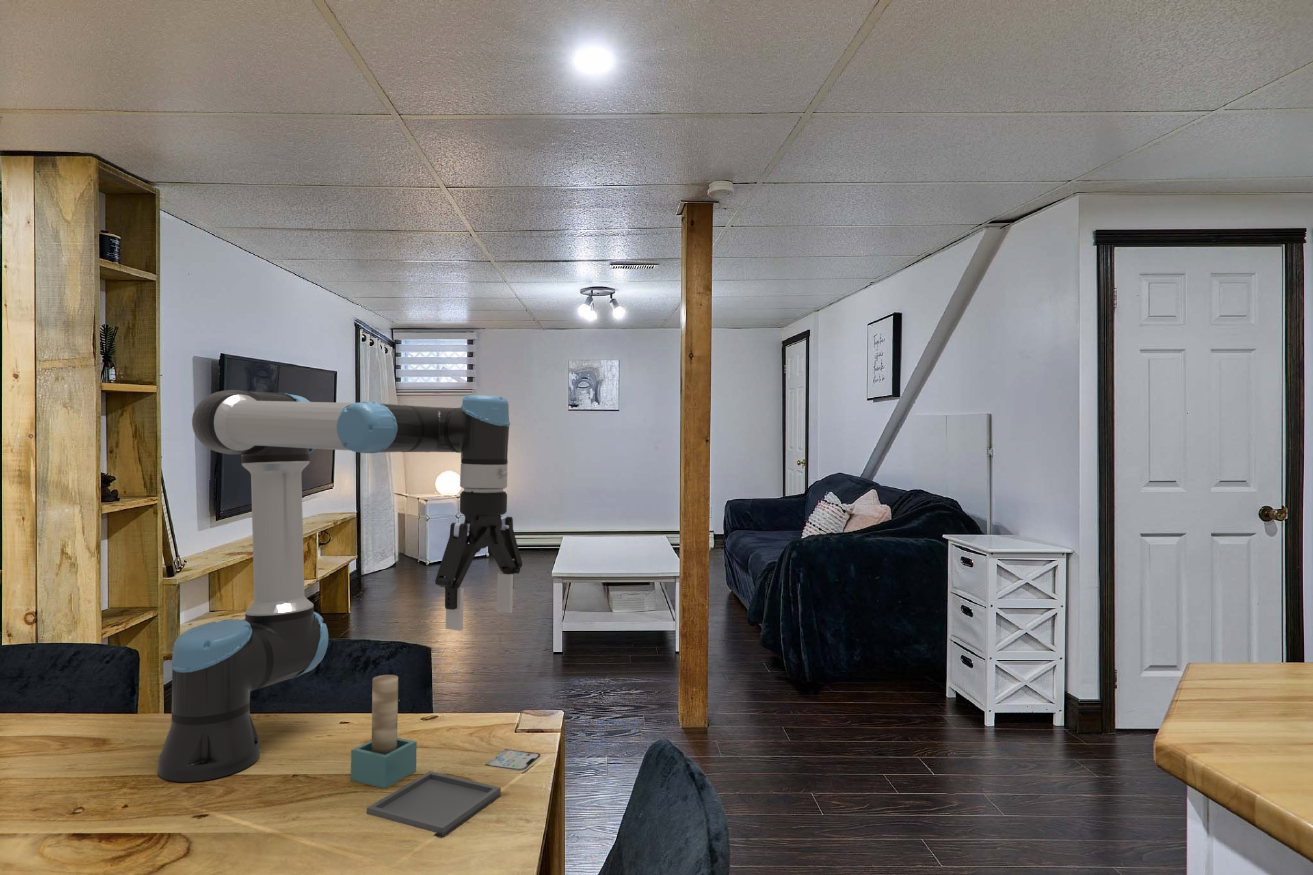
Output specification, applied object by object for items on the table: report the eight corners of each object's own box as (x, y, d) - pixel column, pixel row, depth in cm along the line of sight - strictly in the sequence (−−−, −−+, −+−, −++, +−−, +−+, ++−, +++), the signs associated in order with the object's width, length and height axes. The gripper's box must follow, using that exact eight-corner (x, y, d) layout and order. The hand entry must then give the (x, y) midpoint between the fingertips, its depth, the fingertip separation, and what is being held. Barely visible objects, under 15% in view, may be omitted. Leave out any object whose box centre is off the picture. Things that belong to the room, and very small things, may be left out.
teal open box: (350, 783, 125) (351, 749, 125) (382, 766, 131) (383, 734, 131) (384, 792, 122) (385, 757, 122) (416, 774, 128) (416, 741, 128)
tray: (366, 817, 114) (366, 807, 114) (429, 779, 126) (429, 771, 126) (442, 838, 108) (442, 828, 108) (500, 796, 121) (500, 787, 121)
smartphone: (468, 744, 140) (542, 753, 136) (468, 750, 140) (542, 759, 136) (445, 760, 133) (522, 770, 129) (445, 766, 133) (523, 777, 129)
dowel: (365, 777, 125) (367, 680, 125) (383, 768, 129) (384, 673, 129) (384, 782, 124) (386, 683, 124) (401, 772, 127) (403, 676, 128)
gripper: (454, 495, 112) (450, 641, 112) (543, 487, 135) (540, 607, 135) (413, 493, 115) (409, 634, 115) (508, 485, 138) (505, 603, 138)
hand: (480, 620), depth 125 cm, fingers open, 13 cm apart
